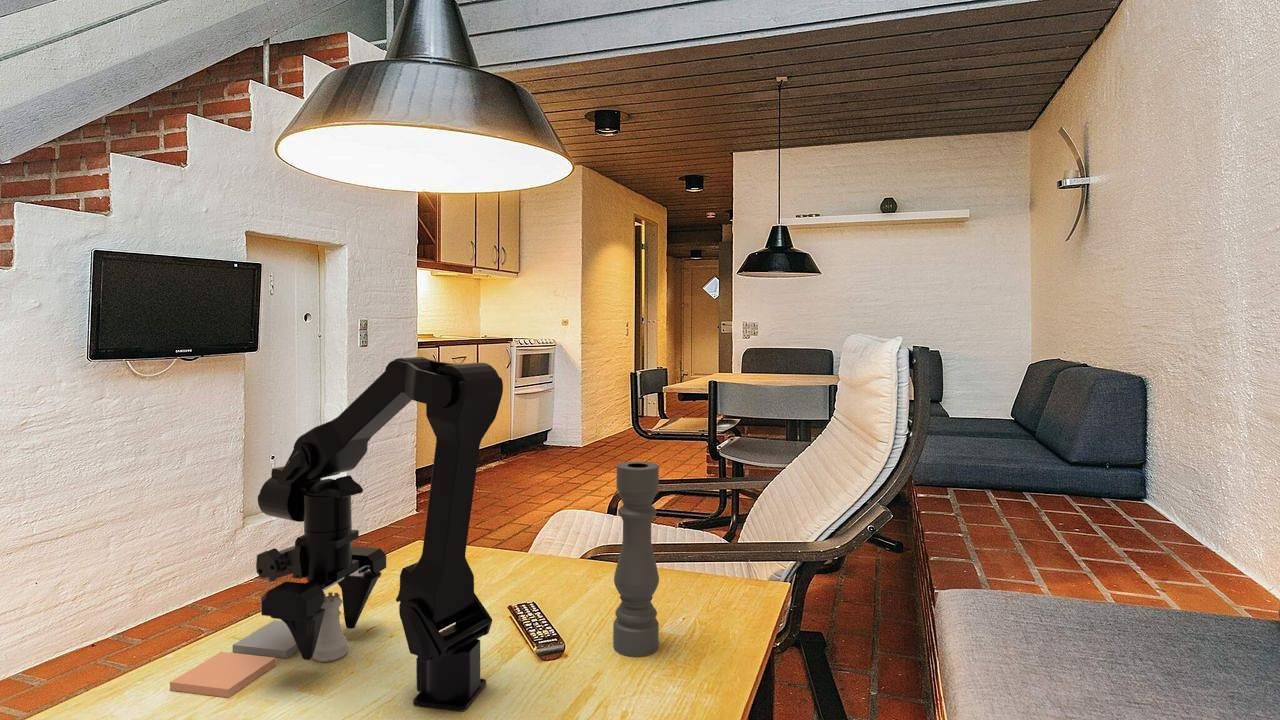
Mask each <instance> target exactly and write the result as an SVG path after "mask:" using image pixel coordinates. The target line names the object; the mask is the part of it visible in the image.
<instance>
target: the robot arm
mask: <svg viewBox="0 0 1280 720" xmlns="http://www.w3.org/2000/svg"><path fill="white" fill-rule="evenodd" d="M503 393H504V382H503V378H502V377H500V376H499V373H498V372H497V370H496V369H495V368H494V367H493V366H492V365H491V364H489V363H486V362H472V363H470V362H469V363H468V362H467V363H451V362H450V363H449V362H443V361H437V360H433V359H429V358H426V357H423V356H416V357H415V356H414V357H402V358H401V357H400V358H399V357H398V358H395V359H394V360H392V361H390V362H388V364H387V365H386V366H385V371H384V372H382V373H381V374H380V375H379V376H378V377H377V378H376V379H375V380H374V381H373V382H372V383H371V384H370V385H369V386H368V387H367V388H366V389H364V391H363V392H361V394H359V396H358V397H356V398H355V399H354V400H353V402H352V403H350V404H349V405H348V406H347V407H346V408H345V409H344V410H343V411H342V412H341V413H340V414H338V416H337V417H335V418H333V419H332V420H330V421H327V422H325V423H322V424H320V425H317V426H315V427H313V428H311V429H309V430H308V431H306V432H305V433H303V434H301V435H300V436H299V437H298V438H297V439H296V440H295V442H294V445H293V447H292V448H293V449H292V452H291V454H290V455H289V458H288V459H287V461H286V463H285V465H284V466H278V467H274V468H272V469H271V472H270V473H271V477H269V478H268V479H267V480H266V481H265V482H264V484H263V485H262V486H261V489H260V491H259V493H258V495H257V504H258V508H259V509H260V511H261V512H262V513H263V514H265V515H266V516H269V517H274V518H279V519H283V520H286V521H287V520H288V521H292V522H298V523H300V522H302V523H303V535H300V536H298V537H296V540H294V545H293V546H290V547H286V548H284V549H282V550H278V549H277V548H276V547H275V548H271V549H269V550H266V551H263V552H260V553H258V554H257V555H256V562H255V563H256V564H255V568H256V569H255V570H256V574H257V575H258V577H259V578H261V579H263V580H264V579H268V583H272V582H275V581H277V579H280V578H283V577H286V576H288V575H289V576H290V575H292V578H293V579H300V580H301V579H303V578H305V579H306V581H307V582H298V581H297V582H294V581H284V582H282V583H281V584H279V585H276V586H275V587H272V588H271V589H269V590H267V591H266V592H265V593H264V594H263V595H262V596H261V597H260V614H261V616H265V617H266V616H267V617H270V618H271V619H274V620H280V621H283V622H285V623H286V625H287V626H288V628H289V630H290V631H291V633H292V636H293V638H294V640H295V642H296V645H297V647H298V649H299V650H298V652H299V653H300V655H301V658H302V659H303V660H307V661H310V660H312V659H313V654H314V651H315V647H316V644H317V640H318V636H319V632H320V628H321V624H322V620H323V616H324V612H325V609H322V608H321V606H322V604H323V602H324V594H325V592H326V590H328V589H330V588H331V587H333V586H335V585H337V584H338V586H339V587H340V589H341V596H342V597H341V598H342V599H341V600H342V601H343V602H342V606H343V607H342V608H343V618H344V623H345V624H344V625H345V628H346V629H347V630H354V629H355V628H356V626H357V623H358V621H359V618H360V617H361V614H362V612H363V610H364V608H365V606H366V604H367V601H368V599H369V598H370V596H371V593H372V591H373V589H374V588H375V585H376V584H377V581H378V579H379V578H380V577H381V576H382V571H383V570H385V569H387V554H386V553H385V552H384V551H383V549H381V548H380V547H367V546H366V547H365V546H355V545H354V546H353V542H354V541H355V540H356V539H359V537H360V535H359V534H360V533H359V532H360V531H359V530H358V529H353V528H352V527H353V525H352V496H356V495H359V494H362V493H364V489H363V487H362V486H361V485H360V484H359V483H358V482H356V481H355V480H354V478H353V477H352V475H350V474H349V475H344V476H340V477H337V478H334V479H333V478H327V477H333V476H336V475H337V476H338V475H340V474H341V473H346V472H350V471H352V470H354V469H355V468H356V467H357V466H358V464H359V463H360V462H361V461H362V459H363V458H364V456H365V455H366V454H367V451H368V443H369V441H370V440H371V439H372V437H373V436H375V435H376V434H377V433H378V432H379V431H380V430H381V429H382V428H383V427H384V426H385V425H386V424H388V422H390V421H391V420H392V419H393V418H394V417H395V416H396V415H397V414H399V413H400V412H401V411H402V410H403V409H404V408H405V407H406V406H407V405H408V404H410V403H411V401H414V402H418V403H422V404H425V406H426V407H425V411H426V412H425V413H426V414H425V415H426V419H427V421H428V423H429V426H430V427H431V429H432V432H433V433H434V436H435V449H434V456H433V464H432V473H431V480H430V481H431V482H430V489H429V496H428V497H429V498H428V505H427V512H426V513H427V514H426V519H425V520H426V522H425V530H424V534H423V535H424V536H423V543H422V551H421V555H420V558H419V559H418V561H416V562H414V563H412V564H410V565H407V566H405V567H403V568H402V569H401V572H400V574H399V591H398V594H397V596H396V598H395V601H396V602H397V603H399V604H398V605H399V607H398V612H399V618H400V622H401V625H402V629H403V631H404V635H405V640H406V643H407V646H408V650H409V653H410V654H411V655H415V656H416V663H415V664H416V672H415V673H416V691H417V692H419V693H418V694H416V696H415V697H414V698H413V699H412V701H413V702H412V703H413V705H415V706H422V707H431V708H438V709H439V708H440V709H446V710H448V709H449V710H456V711H464V710H466V709H467V708H468V707H469V705H471V703H472V702H473V701H474V700H475V698H476V697H477V696H478V695H479V693H480V692H481V691H482V690H483V689H484V688H485V686H487V680H486V678H481V639H480V638H482V637H483V636H486V635H488V634H489V633H490V630H491V627H492V624H493V618H492V616H491V615H490V614H489V612H488V611H487V609H486V608H485V606H484V604H483V603H482V602H481V601H480V598H479V597H478V596H477V594H476V592H475V575H474V573H473V571H472V568H471V566H470V564H469V563H468V560H467V558H466V551H467V543H468V537H469V531H470V530H469V528H470V521H471V514H472V506H473V501H474V491H475V485H476V477H477V469H478V462H479V461H478V460H479V455H480V446H481V442H482V440H483V438H484V437H485V435H486V433H487V432H488V431H489V429H490V427H491V426H492V424H493V423H494V422H495V419H496V417H497V414H498V412H499V411H498V410H499V406H500V404H501V402H502V401H501V400H502V399H503V398H502V397H503Z"/></svg>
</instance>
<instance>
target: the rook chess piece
mask: <svg viewBox="0 0 1280 720" xmlns="http://www.w3.org/2000/svg"><path fill="white" fill-rule="evenodd" d="M340 595H341V594H339V592H334V594H333V592H328V596H326V593H324V602H323V604H322V606H321V608H322V609H325V612H324V616H323V620H322V624H321V628H320V632H319V636H318V640H317V644H316V647H315V651H314V654H313V657H312V659H314V661H317V662H319V663H330V662H334V661H337V660H340V659H342V658H343V657H344V656H345V655H346V654H347V653H348V650H349V647H348V640H347V637H345V634H344V633H343V631H342V628H341V621H340V615H341V614H342V612H341V611H340V607H341V605H343V599H341V596H340Z"/></svg>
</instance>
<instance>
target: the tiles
mask: <svg viewBox="0 0 1280 720" xmlns="http://www.w3.org/2000/svg"><path fill="white" fill-rule="evenodd" d="M297 651H299V649H298V647H297V645H296V642H295V640H294V638H293V636H292V633H291V631H290V630H289V628H288V626H287V625H286V623H285V622H283V621H282V620H278V619H274V620H272V621H270V622H268V623H267V624H265V625H264V626H262V627H260V628H258V629H257V630H255V631H253V632H252V633H250V634H248V635H247V636H245V637H243V638H242V639H239V640H238V641H237V642H235V643H233V644H232V652H226V651H220V652H218V653H217V654H215V655H213V656H211V657H210V658H208V659H206V660H205V661H203V662H201V663H200V664H198V665H196V666H195V667H193V668H191V669H189V670H188V671H186V672H184V673H183V674H181V675H179V676H178V677H176V678H174V679H172V680H170V681H169V690H170V691H173V692H180V691H181V692H180V693H187V694H189V693H190V694H196V695H204V696H206V695H207V696H213V697H220V698H230V697H231V696H233V695H235V694H236V693H238V692H239V691H241V690H242V689H243V688H245V687H246V686H248V685H249V684H251V683H252V682H253V681H255V680H256V679H258V678H260V677H261V676H263V675H264V674H266V672H268V671H270V670H271V669H272V668H274V667H276V666H277V665H276V663H277V661H276V658H280V659H287V658H289V657H290V656H292V655H294V654H295V653H296V652H297Z"/></svg>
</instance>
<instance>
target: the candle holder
mask: <svg viewBox="0 0 1280 720" xmlns="http://www.w3.org/2000/svg"><path fill="white" fill-rule="evenodd" d="M659 467H660V466H659V465H658V464H657V463H654V462H650V461H641V460H640V461H625V462H624V461H623V462H620V463H618V464H616V487H615V488H616V489H617V491H618V493H617V494H618V496H619V497H620V499H621V503H622V505H621V506H620V507H619V508H618V510H617V514H618V516H619V517H620V518H621V519H622V543H621V546H620V551H619V555H618V560H617V564H616V568H615V571H614V576H613V582H614V586H615V589H616V590H617V593H618V594H619V595H620V596H619V598H620V601H621V602H620V603H619V605H618V606H617V608H616V610H615V613H614V614H615V619H614V620H613V625H612V626H613V627H612V628H613V629H612V633H613V634H612V638H613V639H612V647H613V650H614V652H616V653H618V654H620V655H622V656H625V657H633V658H641V657H647V656H650V655H653V654H654V653H656V652H657V651H658V650H659V639H660V638H659V635H660V634H659V626H660V623H659V622H658V621H659V620H658V619H657V618H656V617H657V615H658V611H657V609H656V608H655V607H654V605H653V603H652V600H653V598H654V597H653V595H654V594H655V592H656V590H657V588H658V586H659V583H660V575H659V571H658V567H657V561H656V557H655V553H654V549H653V544H652V543H653V542H652V521H653V518H655V516H656V515H657V509H656V508H655V507H654V506H653V505H652V504H653V502H654V499H655V497H656V496H657V491H658V490H659V487H660V486H659V482H660V481H659V479H660V476H659V473H660V471H659V470H660V468H659Z"/></svg>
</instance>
